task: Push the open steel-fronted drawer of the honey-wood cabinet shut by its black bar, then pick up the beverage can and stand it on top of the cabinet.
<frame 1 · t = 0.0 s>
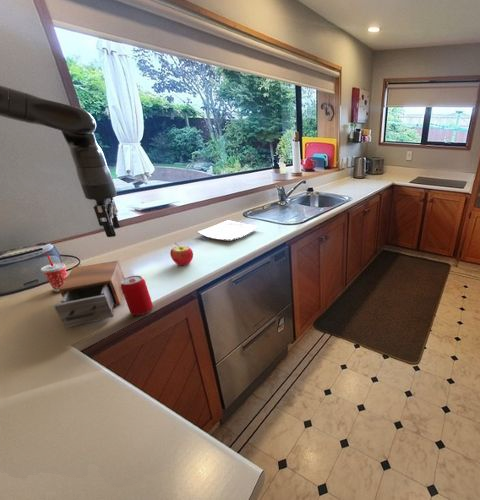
hand: (114, 231, 91), 24 cm above the counter, tool pointing down, fingers open, 8 cm apart
beverage cup: (63, 288, 102), on the counter
apple: (184, 263, 123), on the counter
drawer: (89, 302, 88), point 5 cm above the counter, slide at 7.0 cm
beverage can: (142, 311, 93), on the counter
cabinet: (101, 297, 98), on the counter
plate: (229, 233, 156), on the counter
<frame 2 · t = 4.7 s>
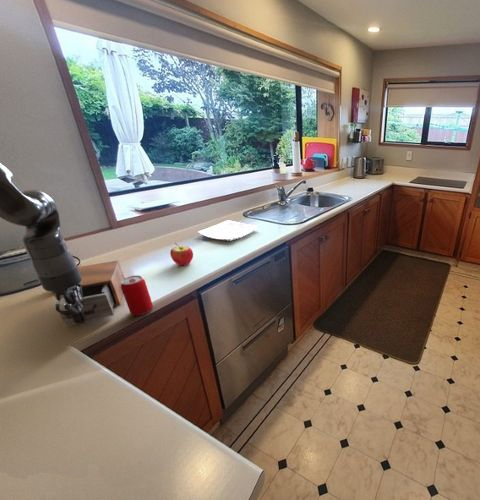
hand: (81, 321, 80), 5 cm above the counter, tool pointing down, fingers closed
drawer: (89, 301, 88), point 5 cm above the counter, slide at 6.1 cm
everything else where it was.
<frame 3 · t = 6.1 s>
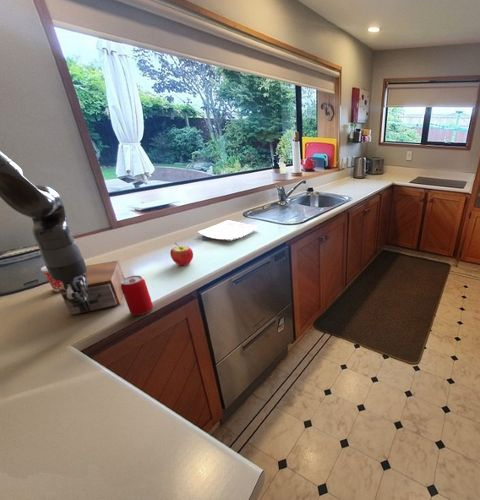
hand: (86, 310, 85), 5 cm above the counter, tool pointing down, fingers closed
drawer: (94, 291, 93), point 5 cm above the counter, slide at 0.1 cm, touching gripper
everything else where it was.
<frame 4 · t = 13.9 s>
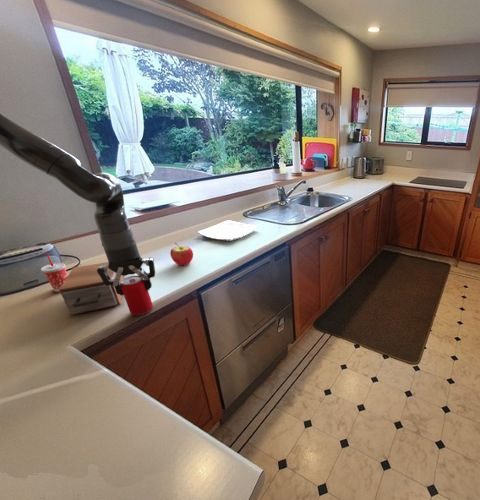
hand: (135, 291, 89), 8 cm above the counter, tool pointing down, fingers closed on beverage can, 6 cm apart
drawer: (94, 291, 93), point 5 cm above the counter, slide at 0.1 cm
beverage can: (142, 311, 93), on the counter, touching gripper
everything else where it was.
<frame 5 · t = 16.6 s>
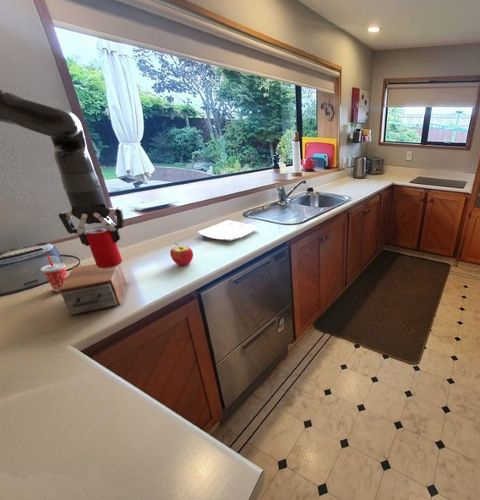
hand: (102, 243, 85), 23 cm above the counter, tool pointing down, fingers closed on beverage can, 6 cm apart
beverage can: (110, 265, 88), point 15 cm above the counter, touching gripper
everything else where it was.
when the fingers open (17 cm above the counter, at t = 19.8 s): beverage can stays where it is, resting on cabinet.
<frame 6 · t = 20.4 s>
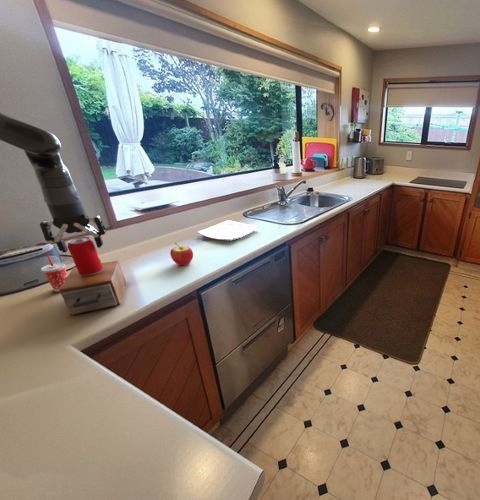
hand: (83, 249, 91), 18 cm above the counter, tool pointing down, fingers open, 8 cm apart
beverage can: (92, 272, 95), point 9 cm above the counter, touching cabinet
everything else where it was.
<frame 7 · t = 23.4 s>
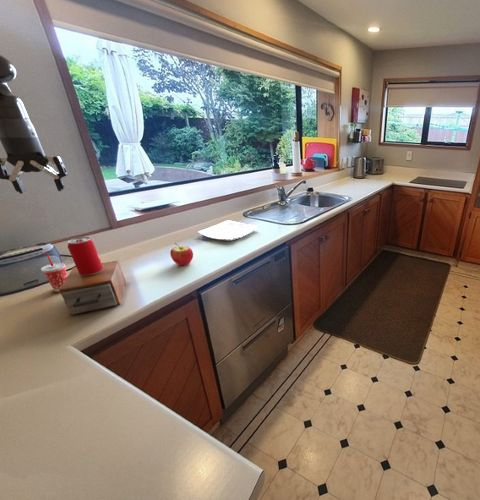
hand: (42, 191, 86), 36 cm above the counter, tool pointing down, fingers open, 8 cm apart
nothing on the counter moved.
at the end: drawer slide at 0.1 cm; beverage can inside the target area on the cabinet (1.0 cm from its centre), point 9.4 cm above the cabinet's base; beverage can tilted 0° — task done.
